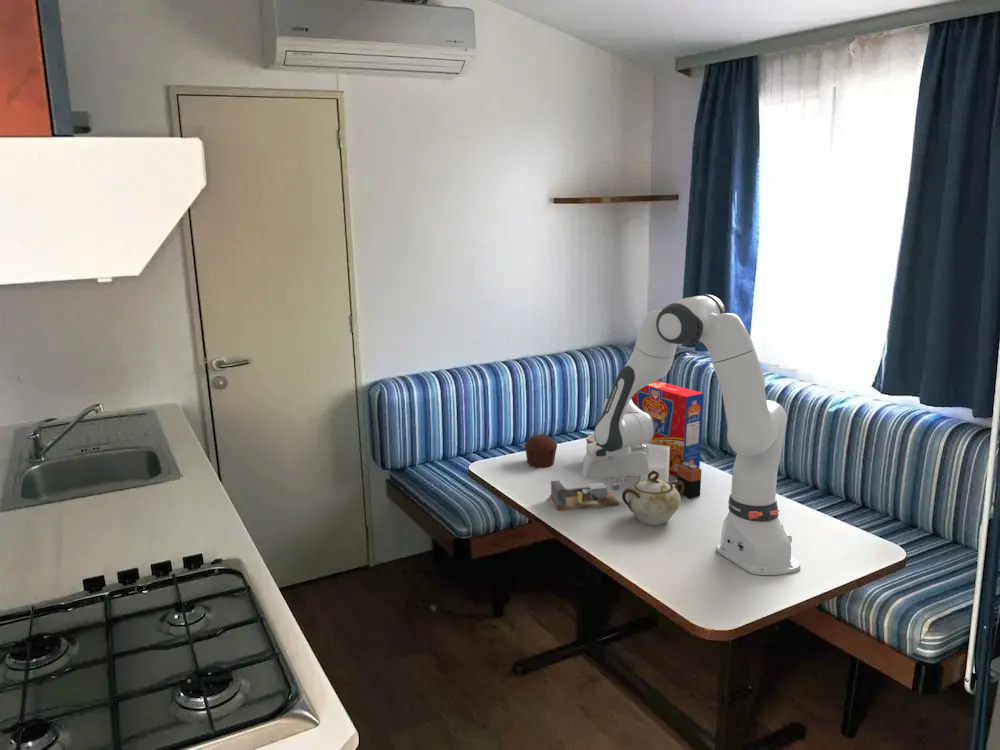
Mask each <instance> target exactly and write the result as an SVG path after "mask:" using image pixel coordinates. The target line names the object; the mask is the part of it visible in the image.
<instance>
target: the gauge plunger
mask: <svg viewBox="0 0 1000 750" xmlns="http://www.w3.org/2000/svg"><path fill="white" fill-rule="evenodd" d="M586 487H587V489H584V490H582V495H583V496H584V495H587V496H588V497H589V499H590V500H601V499H607V490H608V488H607V486H606V485H605V484H604V483H603V482H595V483H586Z"/></svg>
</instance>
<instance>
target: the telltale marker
mask: <svg viewBox="0 0 1000 750" xmlns="http://www.w3.org/2000/svg"><path fill="white" fill-rule="evenodd" d="M577 502H578V503H582V493H581V492H577Z"/></svg>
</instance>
